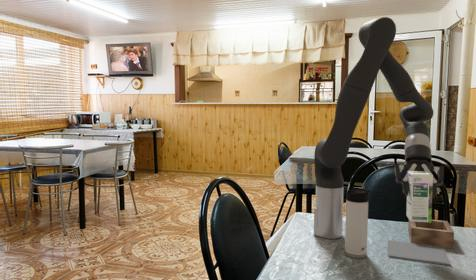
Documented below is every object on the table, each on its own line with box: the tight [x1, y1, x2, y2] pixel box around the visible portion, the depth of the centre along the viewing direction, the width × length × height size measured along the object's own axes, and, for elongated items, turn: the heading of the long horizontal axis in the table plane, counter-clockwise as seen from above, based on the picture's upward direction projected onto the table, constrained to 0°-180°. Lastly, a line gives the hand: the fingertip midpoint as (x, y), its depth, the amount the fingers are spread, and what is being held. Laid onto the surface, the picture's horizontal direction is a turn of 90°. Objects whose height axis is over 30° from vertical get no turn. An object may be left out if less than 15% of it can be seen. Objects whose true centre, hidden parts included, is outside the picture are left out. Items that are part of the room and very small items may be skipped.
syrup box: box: [405, 171, 434, 223], centre depth 107 cm, size 6×6×14 cm
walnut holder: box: [407, 219, 455, 249], centre depth 119 cm, size 12×12×5 cm
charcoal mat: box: [387, 239, 452, 267], centre depth 108 cm, size 16×13×1 cm
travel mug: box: [344, 188, 371, 259], centre depth 106 cm, size 6×7×20 cm
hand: (419, 195), depth 105 cm, fingers closed on syrup box, 6 cm apart
